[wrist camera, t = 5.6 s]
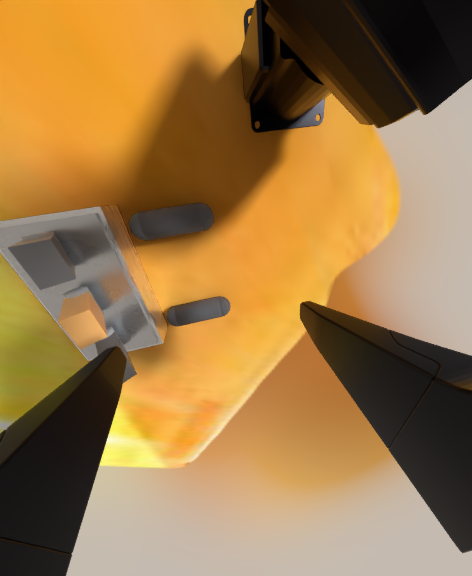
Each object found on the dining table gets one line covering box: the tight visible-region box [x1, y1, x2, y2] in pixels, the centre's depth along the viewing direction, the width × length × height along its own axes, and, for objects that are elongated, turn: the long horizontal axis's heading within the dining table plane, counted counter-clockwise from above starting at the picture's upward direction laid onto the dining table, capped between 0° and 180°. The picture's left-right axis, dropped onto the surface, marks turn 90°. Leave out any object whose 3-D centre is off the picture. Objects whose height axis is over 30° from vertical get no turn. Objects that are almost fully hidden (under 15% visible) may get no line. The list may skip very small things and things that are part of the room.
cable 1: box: [129, 203, 214, 240], centre depth 16 cm, size 7×2×2 cm, turn 98°
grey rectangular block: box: [7, 231, 76, 290], centre depth 11 cm, size 2×3×5 cm
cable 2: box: [167, 296, 230, 326], centre depth 20 cm, size 7×2×2 cm, turn 98°
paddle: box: [95, 327, 137, 383], centre depth 16 cm, size 2×3×5 cm
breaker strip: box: [0, 205, 168, 361], centre depth 17 cm, size 8×14×3 cm, turn 8°
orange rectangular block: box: [58, 286, 108, 350], centre depth 13 cm, size 2×3×5 cm, turn 8°
